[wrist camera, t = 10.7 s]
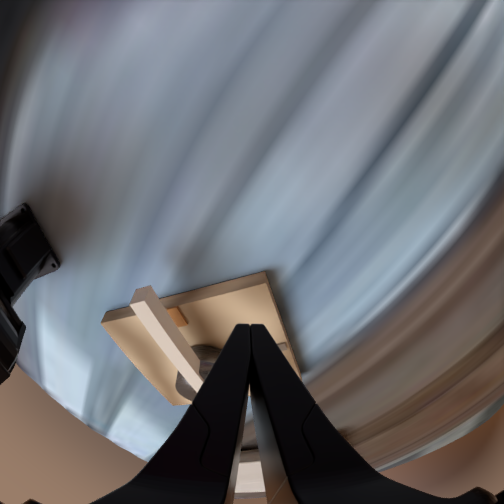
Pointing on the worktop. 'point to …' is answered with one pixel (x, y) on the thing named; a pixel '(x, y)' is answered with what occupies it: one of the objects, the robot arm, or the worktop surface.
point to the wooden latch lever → (174, 343)
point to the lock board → (199, 326)
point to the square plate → (249, 473)
